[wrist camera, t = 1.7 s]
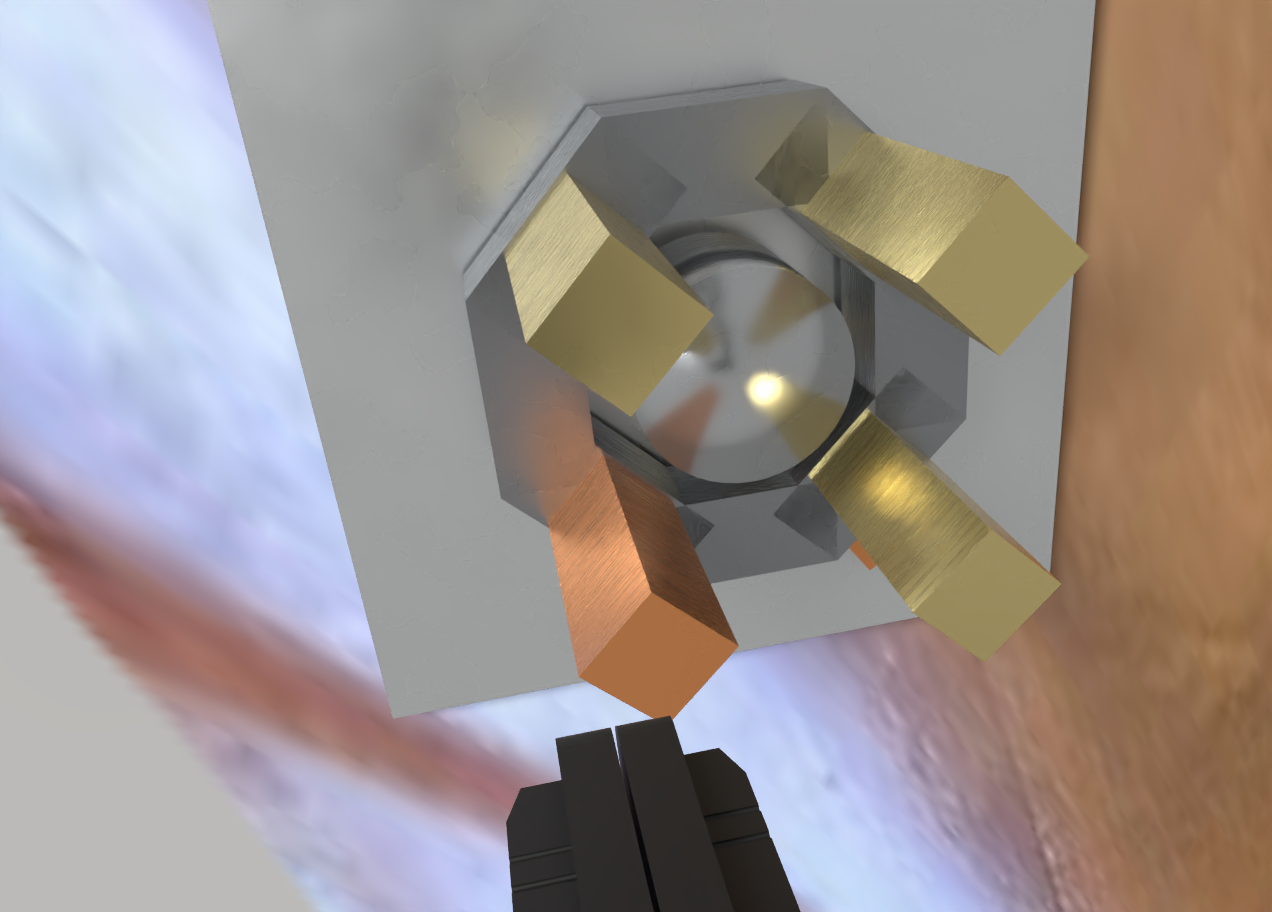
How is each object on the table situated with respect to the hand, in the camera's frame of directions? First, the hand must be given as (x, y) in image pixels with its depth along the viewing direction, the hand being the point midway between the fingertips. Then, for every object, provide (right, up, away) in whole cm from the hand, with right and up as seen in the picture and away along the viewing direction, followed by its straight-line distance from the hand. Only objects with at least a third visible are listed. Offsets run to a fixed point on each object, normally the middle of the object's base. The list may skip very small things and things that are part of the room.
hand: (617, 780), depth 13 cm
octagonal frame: (+2, +7, +15) cm, 17 cm away
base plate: (+2, +8, +16) cm, 18 cm away
